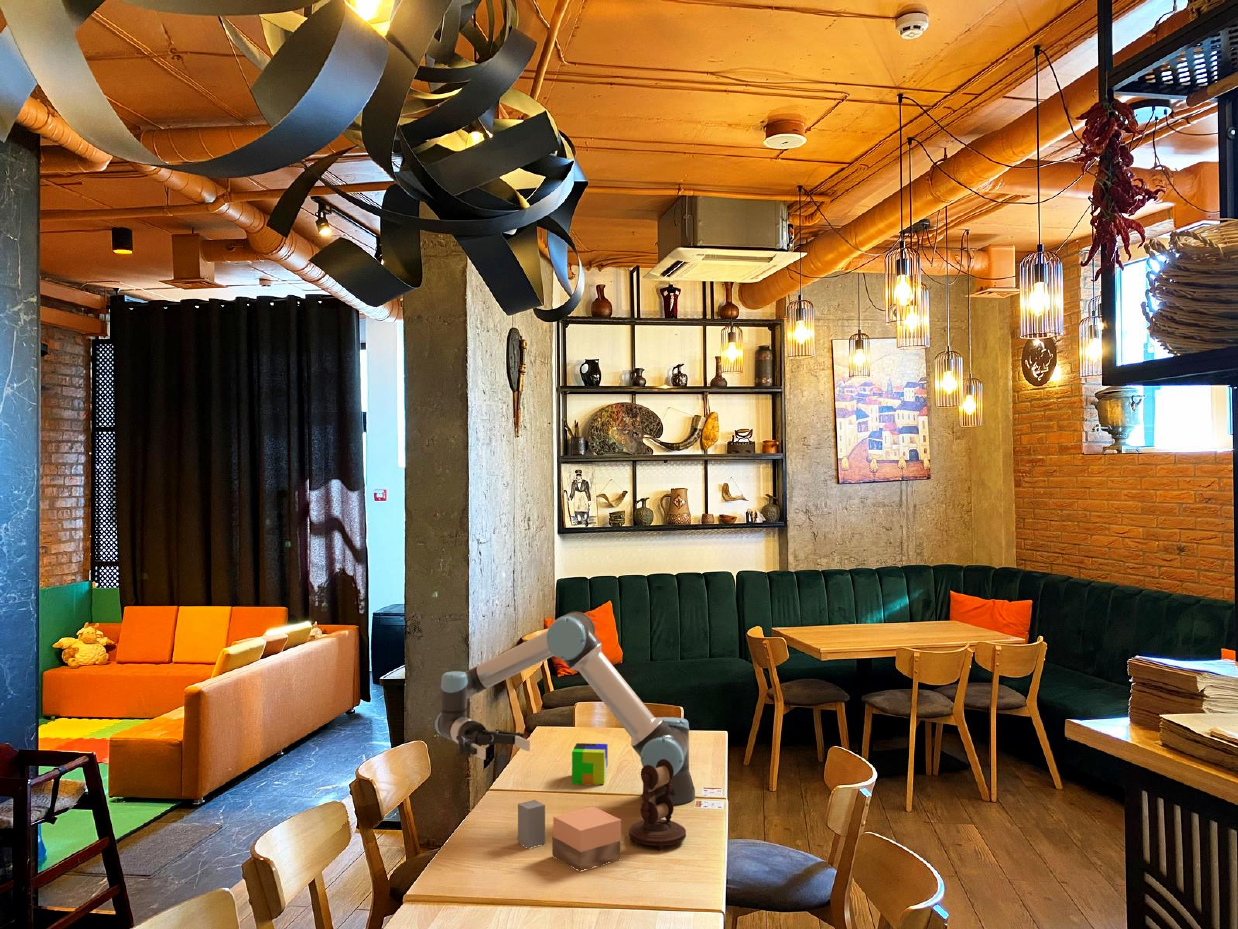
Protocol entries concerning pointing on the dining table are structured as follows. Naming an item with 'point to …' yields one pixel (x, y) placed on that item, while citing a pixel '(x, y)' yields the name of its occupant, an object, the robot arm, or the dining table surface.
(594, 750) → the puzzle toy
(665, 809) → the scroll
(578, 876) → the dining table surface
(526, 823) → the grey block
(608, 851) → the tower bottom
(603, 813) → the tower top
